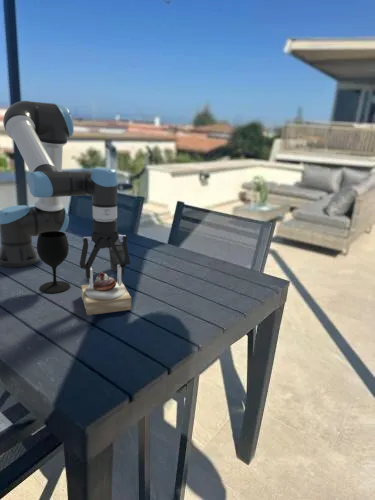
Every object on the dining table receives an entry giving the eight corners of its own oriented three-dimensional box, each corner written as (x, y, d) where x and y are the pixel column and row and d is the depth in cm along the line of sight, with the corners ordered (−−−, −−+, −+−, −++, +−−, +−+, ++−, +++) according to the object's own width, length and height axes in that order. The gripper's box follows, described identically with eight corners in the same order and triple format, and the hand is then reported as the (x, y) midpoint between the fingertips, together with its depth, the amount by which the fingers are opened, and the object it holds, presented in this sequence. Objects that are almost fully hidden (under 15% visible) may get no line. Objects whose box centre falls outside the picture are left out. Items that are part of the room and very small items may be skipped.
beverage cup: (121, 273, 144) (121, 226, 138) (104, 270, 145) (104, 224, 139) (127, 267, 151) (128, 222, 145) (111, 265, 152) (111, 220, 146)
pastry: (91, 283, 120) (91, 269, 119) (113, 281, 123) (113, 268, 122) (94, 293, 113) (94, 278, 112) (118, 290, 116) (118, 276, 115)
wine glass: (41, 295, 120) (37, 239, 114) (38, 284, 129) (34, 231, 123) (72, 291, 125) (70, 237, 119) (67, 280, 134) (65, 229, 128)
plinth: (81, 296, 121) (81, 283, 120) (121, 292, 127) (121, 279, 125) (87, 315, 109) (86, 300, 108) (131, 309, 115) (131, 295, 113)
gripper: (70, 222, 102) (73, 293, 109) (141, 220, 110) (139, 286, 117) (67, 217, 108) (70, 284, 115) (135, 215, 117) (134, 278, 123)
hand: (105, 285), depth 116 cm, fingers open, 8 cm apart
